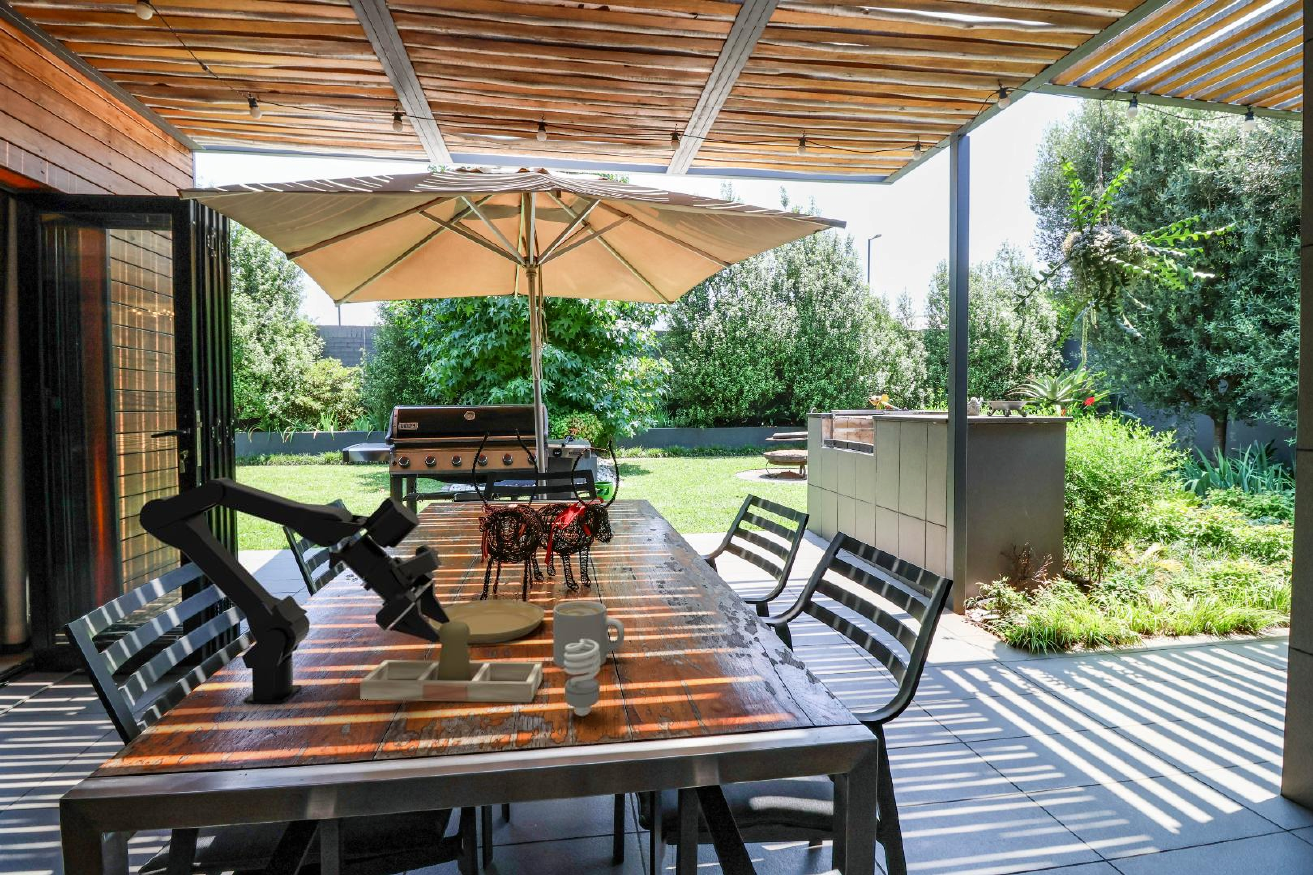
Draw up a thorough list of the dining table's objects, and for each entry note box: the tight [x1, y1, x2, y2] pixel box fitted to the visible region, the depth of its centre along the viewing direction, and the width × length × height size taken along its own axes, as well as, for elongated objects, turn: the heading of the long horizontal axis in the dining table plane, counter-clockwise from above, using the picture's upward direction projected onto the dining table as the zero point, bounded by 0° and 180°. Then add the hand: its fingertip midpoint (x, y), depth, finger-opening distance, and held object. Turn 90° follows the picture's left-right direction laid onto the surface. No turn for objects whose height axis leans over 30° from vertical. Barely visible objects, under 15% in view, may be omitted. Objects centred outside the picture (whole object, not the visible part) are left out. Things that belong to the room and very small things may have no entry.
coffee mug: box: [552, 600, 625, 669], centre depth 135 cm, size 13×10×10 cm
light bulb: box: [563, 639, 601, 718], centre depth 111 cm, size 6×6×12 cm
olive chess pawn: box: [437, 621, 472, 681], centre depth 122 cm, size 6×6×11 cm
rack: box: [359, 659, 543, 703], centre depth 122 cm, size 10×28×3 cm, turn 89°
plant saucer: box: [428, 599, 545, 645], centre depth 155 cm, size 24×24×3 cm
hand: (443, 631), depth 121 cm, fingers open, 9 cm apart
